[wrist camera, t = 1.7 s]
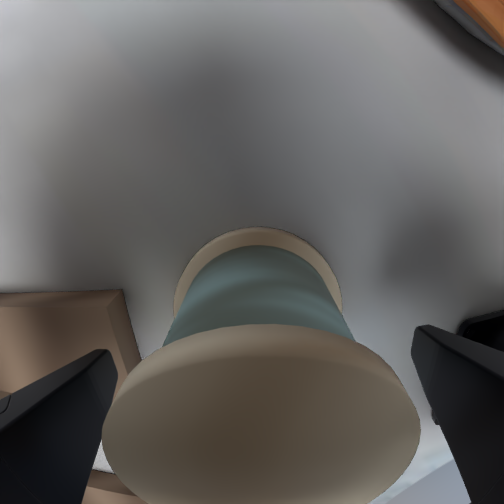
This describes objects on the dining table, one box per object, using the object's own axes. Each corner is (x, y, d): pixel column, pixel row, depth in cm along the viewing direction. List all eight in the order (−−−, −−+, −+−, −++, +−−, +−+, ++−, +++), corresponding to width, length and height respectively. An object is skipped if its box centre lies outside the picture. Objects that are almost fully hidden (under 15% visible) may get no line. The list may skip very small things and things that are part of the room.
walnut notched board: (122, 289, 11) (28, 403, 5) (204, 514, 16) (196, 588, 10) (-83, 293, 12) (-141, 333, 6) (17, 472, 17) (-9, 519, 11)
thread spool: (336, 220, 11) (456, 326, 4) (334, 362, 12) (384, 514, 5) (166, 234, 11) (50, 354, 4) (192, 372, 12) (155, 526, 5)
